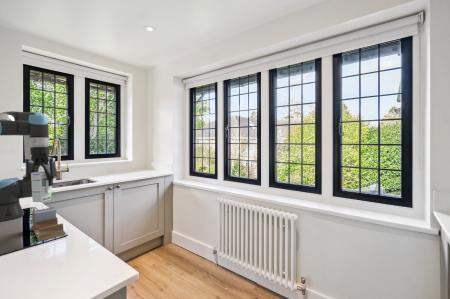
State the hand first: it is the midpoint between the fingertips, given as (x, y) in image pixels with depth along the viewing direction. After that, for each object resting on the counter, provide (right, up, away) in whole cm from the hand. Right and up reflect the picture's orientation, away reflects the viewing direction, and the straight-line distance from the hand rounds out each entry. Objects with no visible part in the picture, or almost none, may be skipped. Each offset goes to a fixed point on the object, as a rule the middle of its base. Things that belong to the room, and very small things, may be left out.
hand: (42, 192), depth 116 cm
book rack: (+2, -20, +1) cm, 20 cm away
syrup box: (0, -4, 0) cm, 4 cm away
